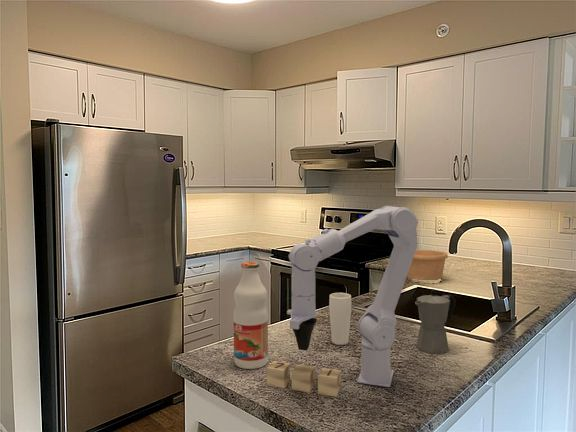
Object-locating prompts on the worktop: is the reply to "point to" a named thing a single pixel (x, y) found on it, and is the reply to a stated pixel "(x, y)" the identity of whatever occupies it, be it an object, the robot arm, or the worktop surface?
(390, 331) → the robot arm
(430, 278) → the pottery
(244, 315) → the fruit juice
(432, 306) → the coffeepot
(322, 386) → the block one
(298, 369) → the plain block
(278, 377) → the block seven
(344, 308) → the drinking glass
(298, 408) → the worktop surface
